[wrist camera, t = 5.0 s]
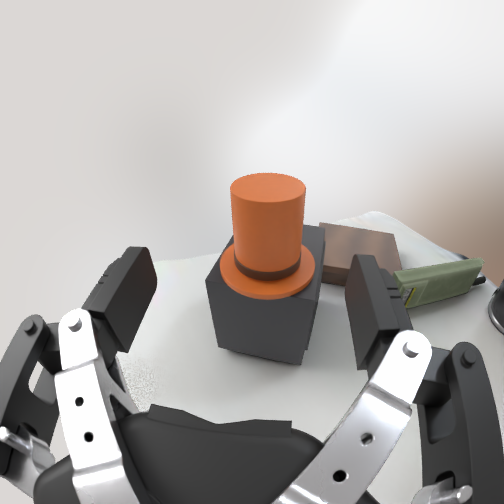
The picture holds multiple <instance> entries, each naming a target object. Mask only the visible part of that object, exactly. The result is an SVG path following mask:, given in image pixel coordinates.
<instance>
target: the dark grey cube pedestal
mask: <svg viewBox="0 0 504 504" xmlns="http://www.w3.org/2000/svg"><path fill="white" fill-rule="evenodd" d="M324 236H325V228H324V227H317V226H310V225H303V230H302V241H301V244H302V245H304V246H305V247H306V248H307V249H308V250H309V251H310V252H311V254H312V256H313V258H314V261H315V271H314V275H313V278H312V280H311V281H310V283H309V284H308V285H307V286H306V287H305V288H304V289H303V290H301V291H300V292H298V293H296V294H294V295H291V296H289V297H285V298H281V299H272V300H264V299H255V298H251V297H247V296H244V295H242V294H240V293H238V292H236V291H234V290H233V289H231V288H230V287H229V286H228V285H227V284H226V283H225V281H224V280H223V278H222V275H221V271H220V260H221V257H222V255H223V253H224V252H225V250H226V249H227V248H228V247H229V246H231V245H232V244H234V235H233V236H232V238H231V239H230V241H229V243H228V244H227V246H226V247H225V249H224V250H223V252H222V254H221V255H220V257H219V259H218V260H217V262H216V263H215V265H214V267H213V268H212V270H211V272H210V273H209V275H208V276H207V278H206V280H205V283H206V288H207V293H208V298H209V304H210V309H211V314H212V319H213V324H214V328H215V333H216V338H217V343H218V347H220V348H224V349H228V350H232V351H236V352H240V353H244V354H249V355H253V356H257V357H262V358H267V359H271V360H276V361H281V362H287V363H292V364H297V365H301V363H302V359H303V355H304V350H307V349H308V345H309V340H310V336H311V332H312V327H313V323H314V318H315V314H316V309H317V304H318V299H319V292H320V285H321V278H322V271H323V263H324V255H325V247H326V241H324Z"/></svg>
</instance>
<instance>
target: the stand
mask: <svg viewBox="0 0 504 504" xmlns="http://www.w3.org/2000/svg"><path fill="white" fill-rule="evenodd" d="M319 227H324V228H325V236H324V241H326V247H325V255H324V263H323V271H322V278H321V282H323V283H329V284H336V285H342V286H346V282H347V278H348V274H349V270H350V266H351V262H352V258H353V256H354V254H364V255H374V256H375V259H376V261H377V264H378V266H379V268H385V269H386V270H387V271H388V272H389V273H390V274H391V275H393V273H394V271H400V270H402V268H401V263H400V259H399V254H398V250H397V246H396V242H395V238H394V234H390V233H384V232H378V231H372V230H366V229H360V228H354V227H348V226H341V225H335V224H328V223H320V224H319Z"/></svg>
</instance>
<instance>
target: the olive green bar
mask: <svg viewBox="0 0 504 504" xmlns="http://www.w3.org/2000/svg"><path fill="white" fill-rule="evenodd" d="M483 263H484V261H483V260H482V258H473V259H467V260H462V261H456V262H450V263H444V264H438V265H432V266H426V267H420V268H413V269H407V270H400V271H394V273H393V275H392V276H393V277H394V279H395V282H396V284H397V287H398V290H399V292H400V294H401V299H403V302H404V305H405V307H406V309H407V308H411V307H416V306H420V305H424V304H428V303H432V302H435V301H439V300H443V299H447V298H450V297H454V296H457V295H461V294H464V293H467V292H468V291H469V289H470V288H471V286H475V285H479V284H482V283H485V281H486V278H485V277H484V276H482V277H479V278H477V276H478V274H479V272H480V270H481V268H482V264H483Z"/></svg>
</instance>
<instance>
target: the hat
mask: <svg viewBox="0 0 504 504" xmlns="http://www.w3.org/2000/svg"><path fill="white" fill-rule="evenodd" d="M230 192H231V206H232V220H233V235H234V244H232V245H231V246H229V247H228V248H227V249H226V250H225V252H224V253H223V255H222V257H221V260H220V271H221V275H222V278H223V280H224V281H225V283H226V284H227V285H228V286H229V287H230V288H231V289H233V290H234V291H236V292H238V293H240V294H242V295H244V296H247V297H251V298H255V299H264V300H272V299H281V298H285V297H289V296H291V295H294V294H296V293H298V292H300V291H301V290H303V289H304V288H305V287H306V286H307V285H308V284H309V283H310V281H311V280H312V278H313V275H314V271H315V261H314V258H313V256H312V254H311V252H310V251H309V250H308V249H307V248H306V247H305V246H304V245H302V244H301V241H302V230H303V218H304V206H305V193H306V187H305V185H304V184H303V182H301V181H300V180H298V179H296V178H294V177H292V176H288V175H284V174H277V173H257V174H251V175H247V176H243V177H241V178H239V179H237V180H235V181H234V182H233V183H232V184H231V187H230Z"/></svg>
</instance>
